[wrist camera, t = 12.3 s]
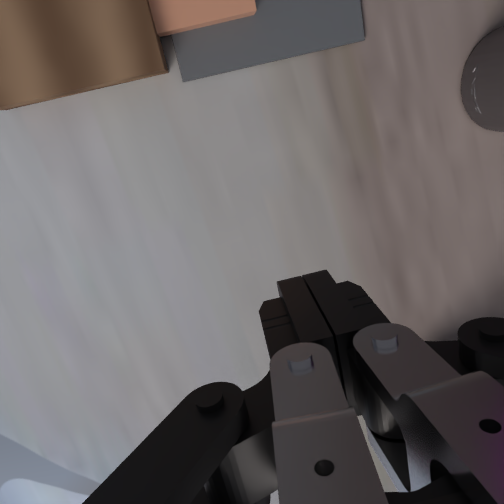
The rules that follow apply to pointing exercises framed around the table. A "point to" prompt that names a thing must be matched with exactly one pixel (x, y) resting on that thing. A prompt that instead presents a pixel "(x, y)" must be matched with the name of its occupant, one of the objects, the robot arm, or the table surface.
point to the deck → (74, 47)
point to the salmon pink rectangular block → (196, 13)
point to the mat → (268, 35)
